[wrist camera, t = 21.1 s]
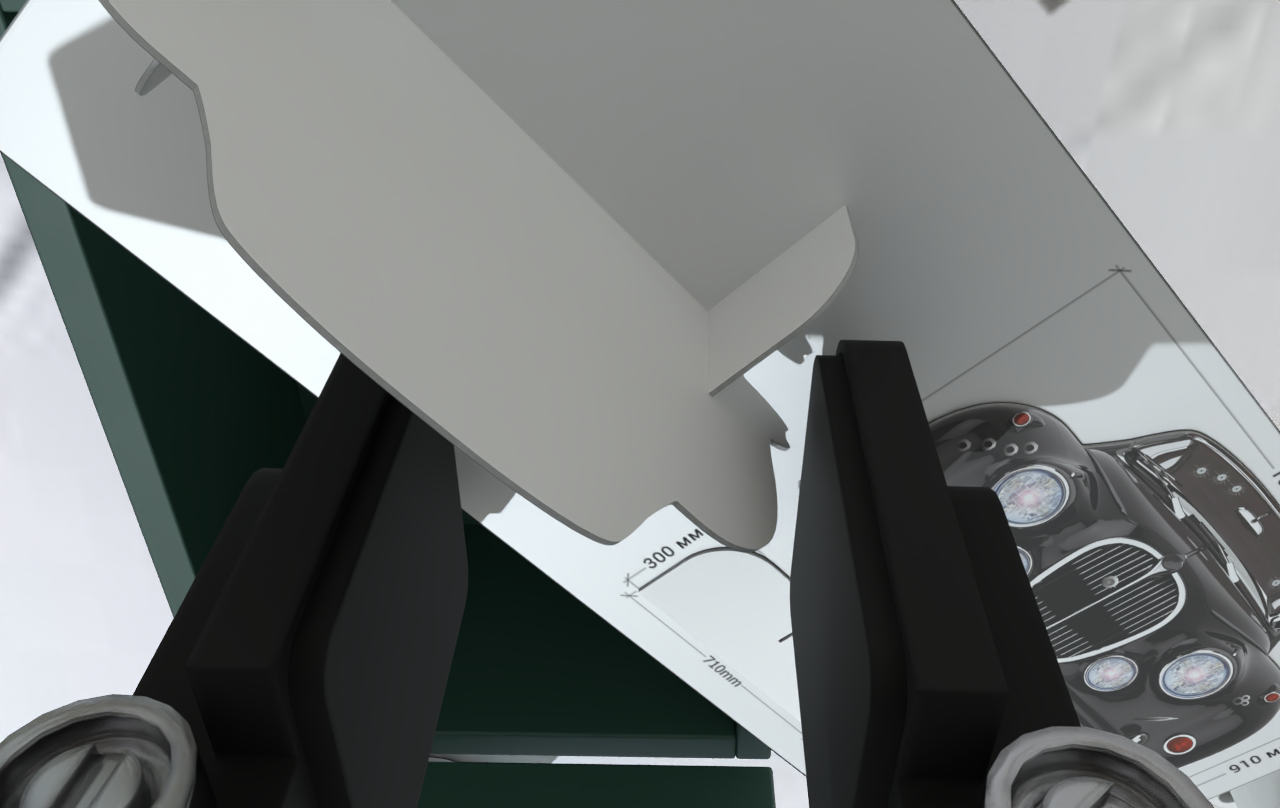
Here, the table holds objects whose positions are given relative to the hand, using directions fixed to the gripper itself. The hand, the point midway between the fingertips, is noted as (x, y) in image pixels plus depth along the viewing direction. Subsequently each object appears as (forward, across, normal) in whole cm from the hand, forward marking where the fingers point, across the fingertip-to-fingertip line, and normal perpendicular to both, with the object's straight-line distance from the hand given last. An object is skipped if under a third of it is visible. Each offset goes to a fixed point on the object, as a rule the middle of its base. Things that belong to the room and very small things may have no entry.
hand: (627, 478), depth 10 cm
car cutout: (+1, -2, 0) cm, 2 cm away
